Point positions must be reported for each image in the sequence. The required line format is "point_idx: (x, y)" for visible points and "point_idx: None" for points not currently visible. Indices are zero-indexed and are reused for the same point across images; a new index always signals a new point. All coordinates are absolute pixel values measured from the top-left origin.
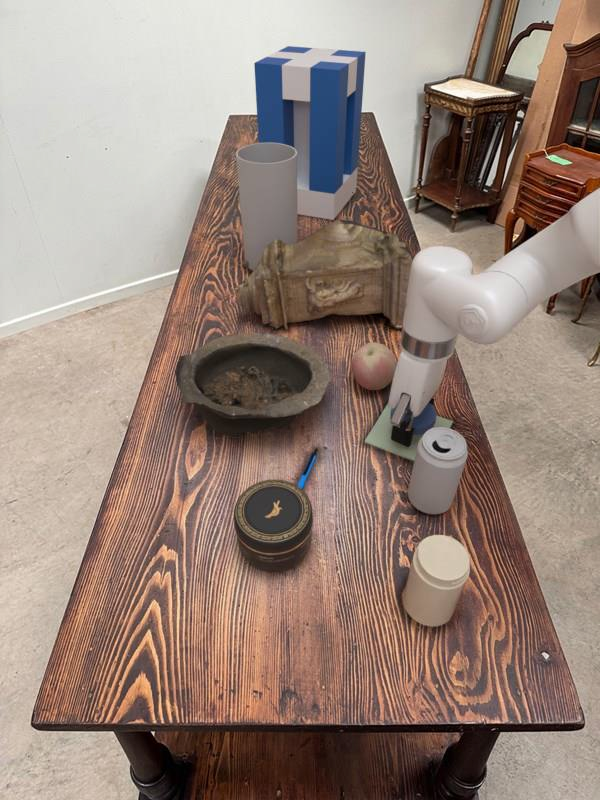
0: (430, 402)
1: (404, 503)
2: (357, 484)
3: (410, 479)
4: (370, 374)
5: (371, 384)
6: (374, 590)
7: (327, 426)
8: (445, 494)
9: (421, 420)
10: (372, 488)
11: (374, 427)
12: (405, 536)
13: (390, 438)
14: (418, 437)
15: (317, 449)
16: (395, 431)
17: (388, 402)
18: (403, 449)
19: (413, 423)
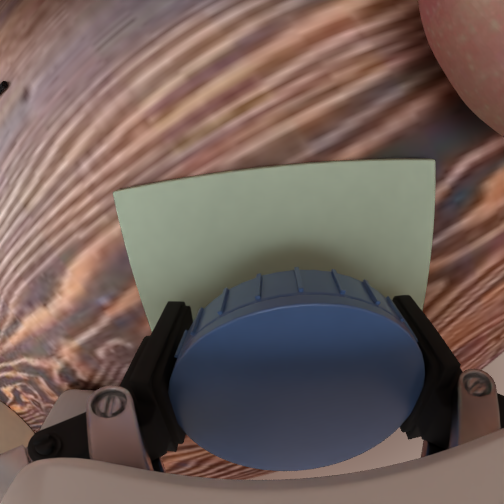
0: (402, 427)
1: (59, 379)
2: (4, 269)
3: (46, 427)
4: (491, 10)
5: (445, 44)
6: None
7: (110, 14)
8: None
9: (257, 449)
10: (24, 307)
11: (212, 182)
12: (25, 390)
13: (197, 278)
14: None
15: (3, 88)
16: (126, 372)
17: (10, 487)
18: None
19: (214, 434)
